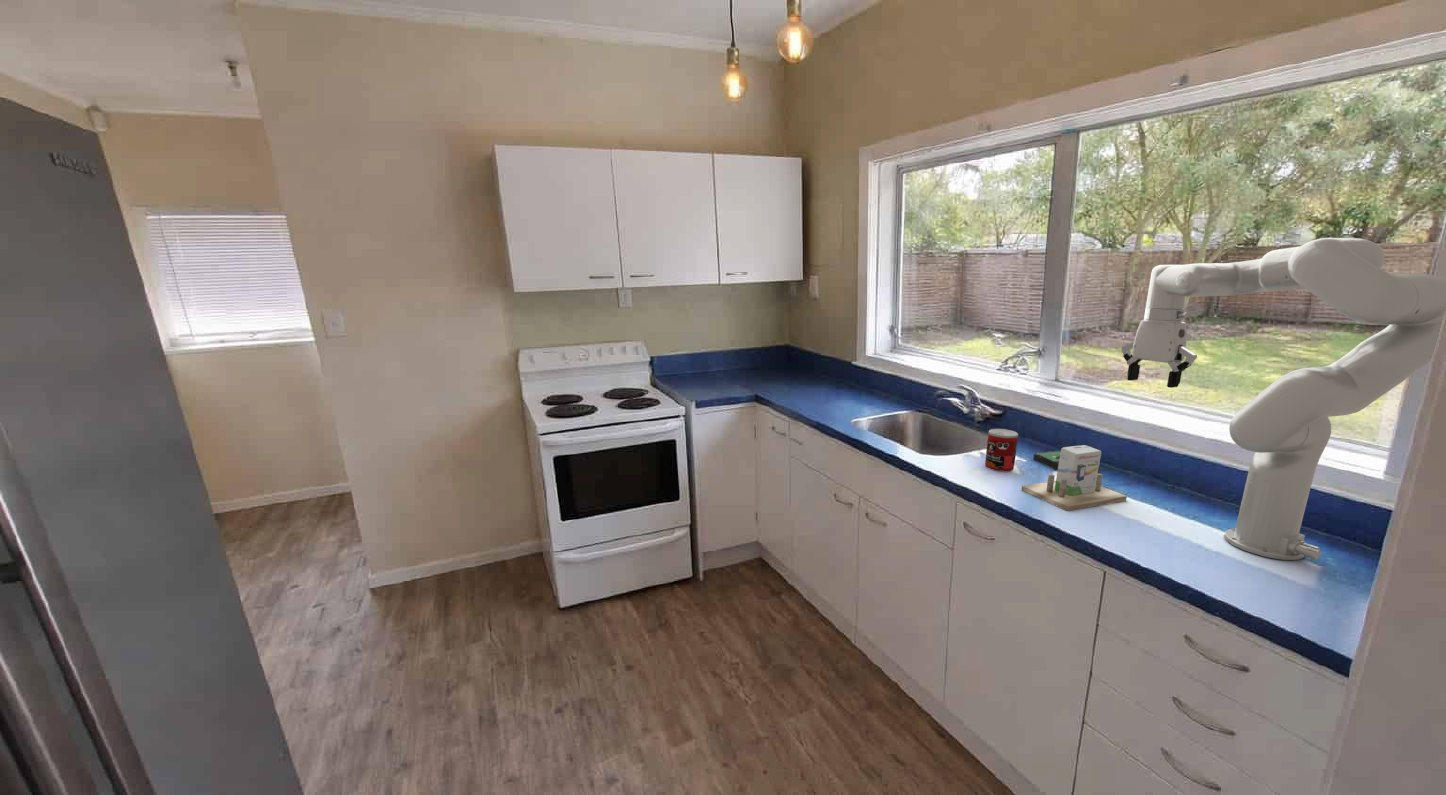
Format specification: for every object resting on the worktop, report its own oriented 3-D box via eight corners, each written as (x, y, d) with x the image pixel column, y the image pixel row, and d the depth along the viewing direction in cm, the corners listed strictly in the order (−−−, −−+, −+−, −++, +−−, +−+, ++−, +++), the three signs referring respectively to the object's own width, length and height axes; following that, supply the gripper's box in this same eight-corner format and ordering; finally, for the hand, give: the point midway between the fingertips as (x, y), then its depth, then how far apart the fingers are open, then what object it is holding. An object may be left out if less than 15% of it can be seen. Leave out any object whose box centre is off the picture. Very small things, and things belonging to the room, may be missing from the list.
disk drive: (1099, 475, 164) (1060, 458, 178) (1101, 466, 163) (1061, 449, 177) (1068, 478, 162) (1031, 460, 176) (1070, 469, 161) (1033, 451, 175)
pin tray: (1126, 500, 144) (1129, 479, 143) (1067, 511, 138) (1070, 489, 137) (1077, 481, 157) (1080, 462, 156) (1021, 490, 151) (1024, 470, 150)
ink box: (1078, 486, 151) (1084, 444, 148) (1095, 493, 146) (1102, 450, 143) (1053, 489, 148) (1059, 447, 146) (1070, 497, 144) (1076, 453, 141)
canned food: (979, 464, 171) (982, 429, 168) (1000, 461, 173) (1004, 427, 171) (998, 473, 164) (1002, 437, 161) (1019, 470, 166) (1024, 434, 164)
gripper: (1213, 317, 132) (1199, 388, 136) (1137, 313, 148) (1127, 376, 152) (1192, 318, 130) (1179, 391, 133) (1118, 313, 146) (1108, 378, 149)
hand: (1151, 383), depth 143 cm, fingers open, 9 cm apart
